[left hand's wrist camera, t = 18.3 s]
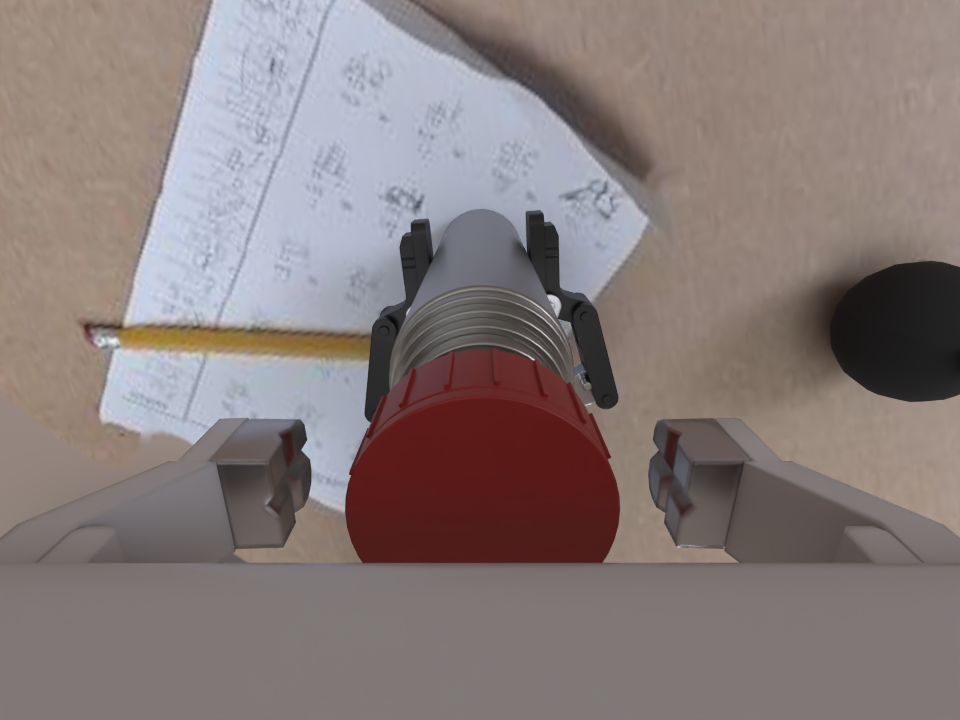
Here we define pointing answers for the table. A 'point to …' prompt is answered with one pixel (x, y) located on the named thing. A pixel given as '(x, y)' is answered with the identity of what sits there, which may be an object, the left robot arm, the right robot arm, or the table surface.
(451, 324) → the bottle
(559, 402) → the cap
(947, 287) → the bomb
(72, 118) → the table surface
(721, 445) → the left robot arm
